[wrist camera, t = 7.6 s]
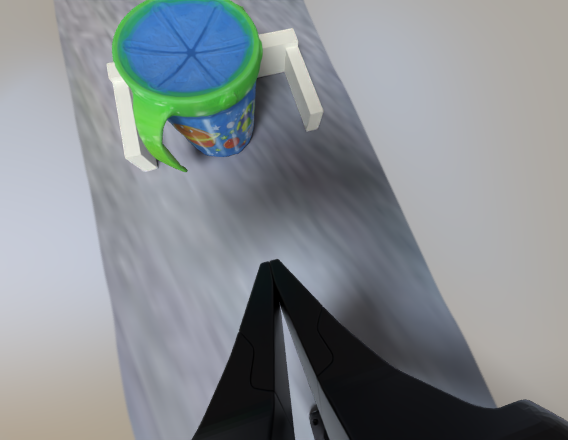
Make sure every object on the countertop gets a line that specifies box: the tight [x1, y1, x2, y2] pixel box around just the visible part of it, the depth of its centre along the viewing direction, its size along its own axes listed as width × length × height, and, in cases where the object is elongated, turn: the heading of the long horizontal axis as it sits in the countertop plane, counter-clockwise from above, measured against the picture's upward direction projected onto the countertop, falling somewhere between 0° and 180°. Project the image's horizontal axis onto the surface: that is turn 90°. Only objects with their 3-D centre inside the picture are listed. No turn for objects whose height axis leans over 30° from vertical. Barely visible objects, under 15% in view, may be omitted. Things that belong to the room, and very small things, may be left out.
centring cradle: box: [107, 28, 323, 172], centre depth 21 cm, size 12×21×7 cm, turn 107°
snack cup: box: [112, 0, 263, 172], centre depth 19 cm, size 16×10×10 cm
